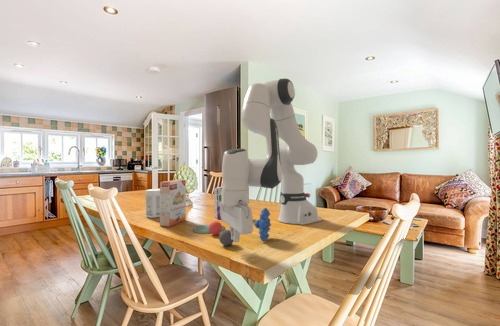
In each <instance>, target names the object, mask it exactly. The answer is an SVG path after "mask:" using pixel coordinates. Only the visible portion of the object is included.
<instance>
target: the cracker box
mask: <svg viewBox="0 0 500 326" xmlns="http://www.w3.org/2000/svg"><path fill="white" fill-rule="evenodd" d="M186 183H187V181H186V180H185V179H173V180H166V181H160V182H159V189H160V217H159V226H160V227H167V228H170V227H173V226H175V225H177V224H180V223H183V222H185V221H186V205H187V204H186V198H187V197H186V194H187V193H186V192H187V191H186V189H187V188H186V187H187V184H186Z"/></svg>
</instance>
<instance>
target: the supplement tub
mask: <svg viewBox="0 0 500 326" xmlns="http://www.w3.org/2000/svg"><path fill="white" fill-rule="evenodd" d="M145 215H146V218H148V217H149V218H148V219H156V218H157V217H158V218H160V188H150V189H146V190H145ZM158 218H157V219H158Z"/></svg>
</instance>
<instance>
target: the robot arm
mask: <svg viewBox="0 0 500 326" xmlns="http://www.w3.org/2000/svg"><path fill="white" fill-rule="evenodd" d="M295 92H296V91H295V86H294V84H293V82H292V81H291V80H290V79H289V78H279V79H276V80H270V81H266V82H264V83H260V82H257V83H253V84H251V85H250V86H248V89H247V91H246V93H245V96H244V99H243V103H242V106H241V107H242V108H241V112H240V113H241V115H240V120H241V122H242V124H243V126H244V127H245V128H246V129H247V130H249V131H250V132H252V133H254V134H258V135H260V136H263V137H265V140H266V157H265V158H262V159H261V158H260V159H259V158H255V159H253V158H249V155H248V150H247V149H245V148H229V149H227V150H225V151H224V152H223V155H222V156H223V157H222V162H221V178H222V186H221V187H222V193H221V194H219V201H220V216H221V219H220V220H221V222H223V223H225V224H226V225H227V226H229V230H230V232H231V239H232V240H233V241H234V242H233V243H240V236H241V235H248V234H249V235H250V234H252V233H253V230H254V221H253V211H252V208H251V207H250V206H249V203H250V187H257V188H259V187H261V188H265V189H271V190H272V189H275V187H277V186H278V185H279V184H281V187H280V188H281V191H280V210H279V215H278V218H277V221H279V222H281V223H284V224H290V225H291V224H293V225H308V224H312V223H318V222H321V221H323V217H322V216H319V213H318V209H317V207H316V206H315V205H314V204H312V202H310V201H309V200H308V199H307V198H311V193H308V192H307V193H305V191H304V186H305V185H304V177H303V175H302V174H301V173H299V172H298V171H297V170H296V168H295V166H305V165H310V164H314V163H315V161H317V159H318V149H317V148H316V145H314V144H313V143H312V142H310V141H308V139H306V138H305V137H304V136H303V135H304V134H302V133H301V131H300V128H299V126H298V123H297V119H296V114H295V110H294V107H293V104H292V102H293V100H294V99H295V95H296V93H295ZM280 139H281V140H282V141H284V142H285V143H280Z"/></svg>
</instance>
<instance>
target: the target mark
mask: <svg viewBox="0 0 500 326" xmlns="http://www.w3.org/2000/svg"><path fill="white" fill-rule="evenodd" d="M210 224H211V223H209V224H201V225H199V226H196V227H193V229H192V231H193V232H195V233H196V234H204V235H205V234H211V233H210V231H209V225H210ZM224 230H226V227H225V226H224V225H222V231H224ZM222 231H221V232H222Z"/></svg>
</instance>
